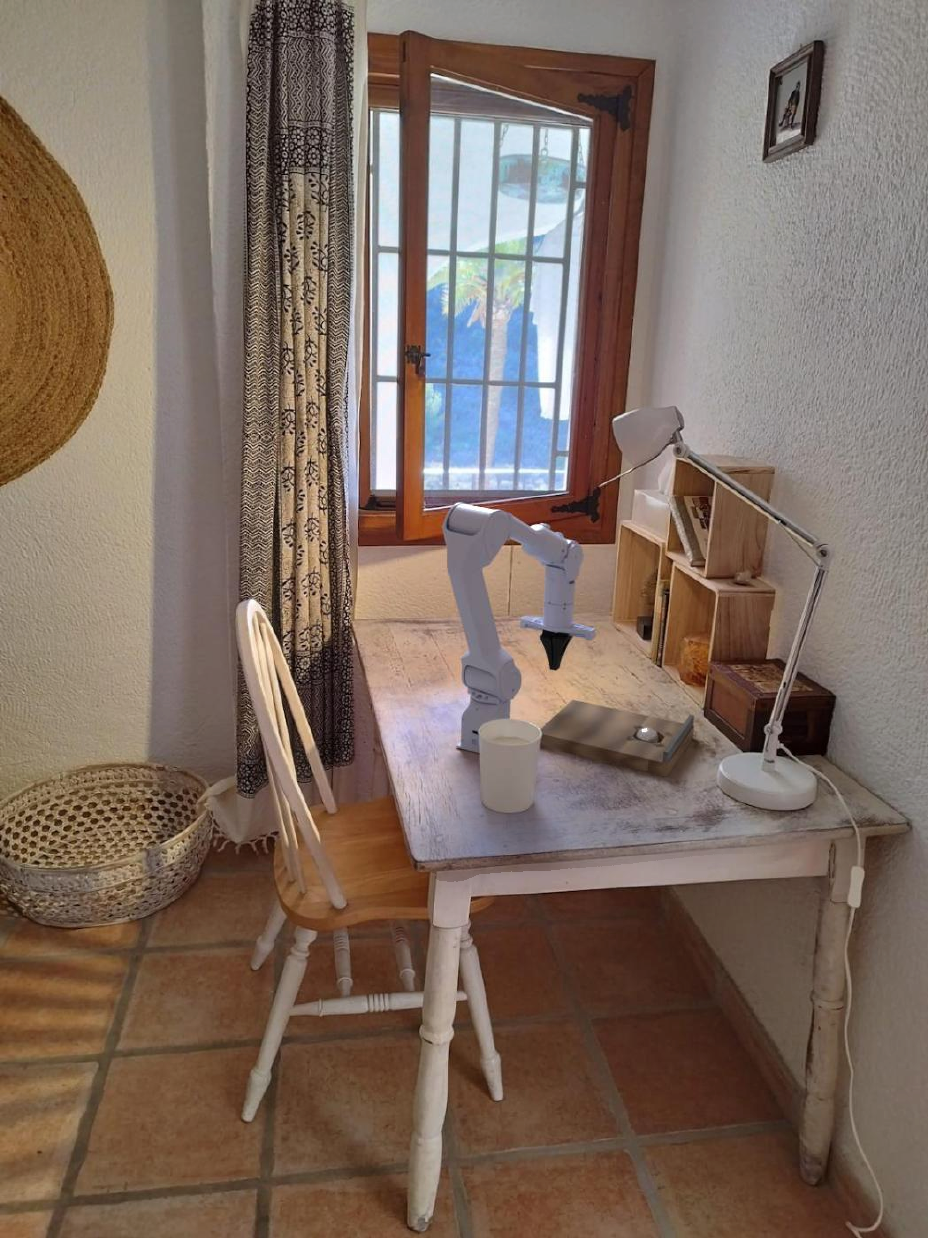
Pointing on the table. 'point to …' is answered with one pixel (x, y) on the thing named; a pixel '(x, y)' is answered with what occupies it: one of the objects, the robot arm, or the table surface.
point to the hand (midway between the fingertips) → (554, 668)
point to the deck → (617, 737)
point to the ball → (647, 735)
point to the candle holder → (508, 764)
